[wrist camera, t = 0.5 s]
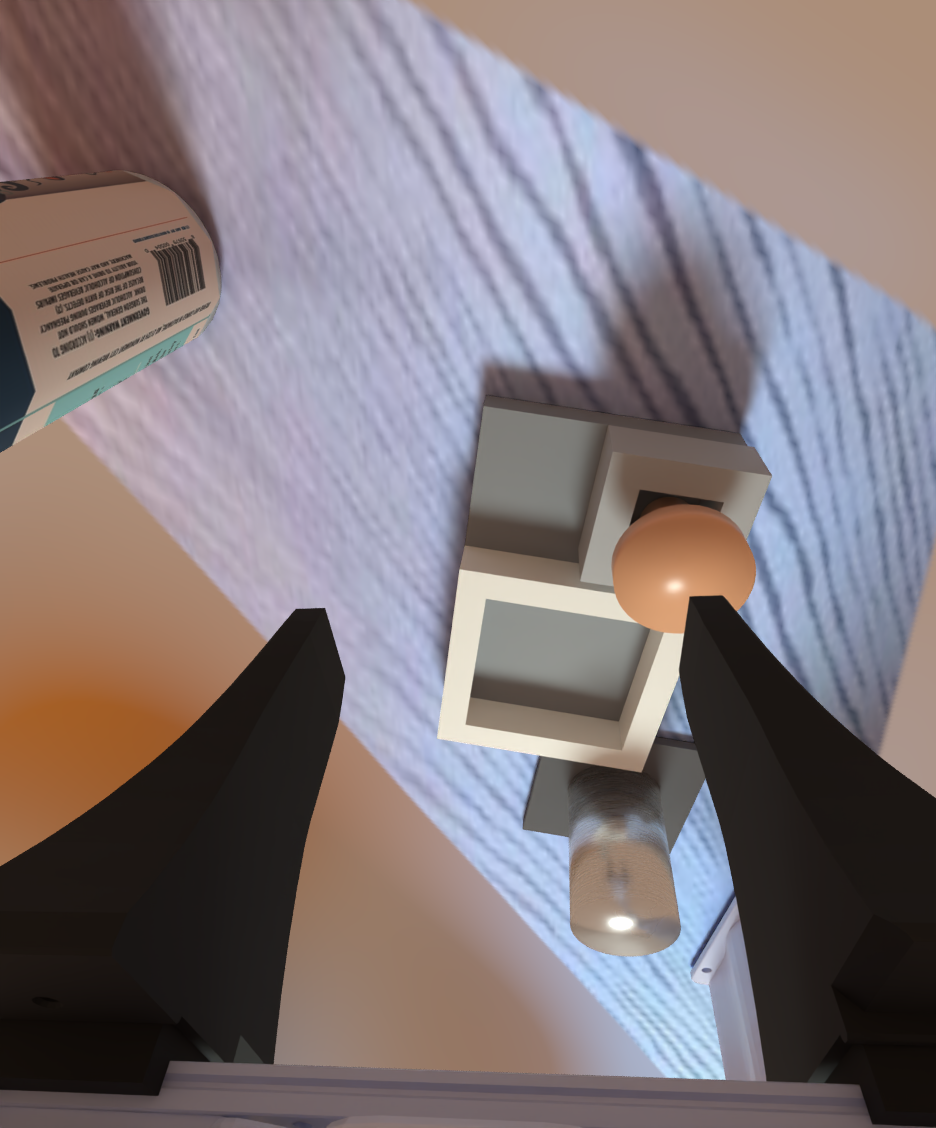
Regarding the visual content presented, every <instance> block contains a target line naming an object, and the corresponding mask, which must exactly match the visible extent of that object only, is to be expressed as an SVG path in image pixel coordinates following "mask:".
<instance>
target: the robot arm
mask: <svg viewBox="0 0 936 1128" xmlns="http://www.w3.org/2000/svg"><path fill="white" fill-rule="evenodd" d="M679 675H680V681H681V687H682V693H683V698H684V704H685V709H686V714H687V719H688V722H689V726H690V729H691V732H692V736H693V739H694V742H695V745H696V749H697V752H698V755H699V758H700V762H701V765H702V768H703V771H704V774H705V778H706V781H707V784H708V787H709V791H710V794H711V797H712V800H713V803H714V807H715V810H716V813H717V816H718V819H719V823H720V827H721V831H722V834H723V838H724V842H725V846H726V851H727V856H728V861H729V866H730V871H731V876H732V881H733V885H734V890H735V895H736V896H735V898H734V900H733V901H732V903H731V905H730V906H729V908H728V910H727V911H726V913H725V915H724V916H723V918H722V920H721V921H720V923H719V925H718V926H717V928H716V930H715V931H714V933H713V935H712V936H711V938H710V940H709V942H708V943H707V945H706V947H705V948H704V950H703V952H702V953H701V955H700V957H699V958H698V960H697V962H696V963H695V965H694V967H693V968H692V970H691V979H692V981H694V982H695V983H699V984H705V985H709V987H710V993H711V999H712V1004H713V1010H714V1016H715V1021H716V1027H717V1033H718V1038H719V1044H720V1049H721V1055H722V1061H723V1066H724V1072H725V1078H726V1080H711V1079H682V1078H653V1077H624V1076H623V1077H622V1076H595V1075H594V1076H593V1075H565V1074H537V1073H536V1074H534V1073H508V1072H479V1071H450V1070H420V1069H392V1068H364V1067H361V1068H360V1067H335V1066H333V1067H332V1066H305V1065H304V1066H303V1065H276V1064H274V1054H275V1044H276V1036H277V1027H278V1019H279V1010H280V1001H281V993H282V985H283V978H284V971H285V963H286V956H287V948H288V942H289V935H290V928H291V922H292V916H293V910H294V904H295V897H296V891H297V885H298V880H299V874H300V869H301V863H302V858H303V852H304V847H305V842H306V838H307V834H308V829H309V825H310V821H311V818H312V814H313V811H314V807H315V804H316V800H317V797H318V794H319V790H320V787H321V783H322V780H323V776H324V773H325V769H326V766H327V762H328V759H329V755H330V752H331V748H332V745H333V741H334V738H335V734H336V730H337V727H338V723H339V717H340V711H341V705H342V698H343V691H344V684H345V674H344V671H343V667H342V664H341V661H340V657H339V654H338V650H337V647H336V644H335V640H334V637H333V633H332V630H331V627H330V623H329V620H328V616H327V613H326V609H325V608H311V609H296V610H295V611H294V612H293V613H292V614H291V615H290V616H289V618H288V619H287V620H286V621H285V622H284V623H283V625H282V626H281V627H280V628H279V629H278V631H277V632H276V633H275V634H274V635H273V637H272V638H271V639H270V640H269V641H268V643H267V644H266V645H265V646H264V648H263V649H262V650H261V651H260V652H259V653H258V655H257V656H256V657H255V658H254V660H253V661H252V662H251V663H250V664H249V665H248V666H247V667H246V669H245V670H244V671H243V672H242V673H241V674H240V675H239V676H238V678H237V679H236V680H235V681H234V682H233V683H232V685H231V686H230V687H229V688H228V689H227V690H226V691H225V692H224V693H223V694H222V695H221V696H220V697H219V698H218V699H217V701H216V702H215V703H214V704H213V705H212V706H211V707H210V708H209V709H208V710H207V711H206V712H205V713H204V714H203V715H202V716H201V717H200V718H199V719H198V720H197V721H196V722H195V723H194V724H193V725H192V726H191V727H190V728H189V729H188V730H187V731H186V732H185V733H184V734H183V735H182V736H181V737H180V738H179V739H177V740H176V741H175V742H174V743H173V744H172V745H171V746H170V747H168V748H167V749H166V750H165V751H164V752H163V753H162V754H161V755H159V756H158V757H157V758H156V759H155V760H153V761H152V762H151V763H150V764H149V765H147V766H146V767H145V768H144V769H142V770H141V771H140V772H138V773H137V774H136V775H135V776H133V777H132V778H131V779H129V780H128V781H127V782H126V783H125V784H123V785H122V786H121V787H119V788H118V789H117V790H115V791H114V792H113V793H112V794H110V795H109V796H108V797H106V798H105V799H104V800H102V801H101V802H99V803H98V804H97V805H95V806H94V807H92V808H91V809H90V810H88V811H87V812H85V813H84V814H83V815H81V816H80V817H78V818H77V819H75V820H74V821H72V822H71V823H69V824H68V825H66V826H65V827H63V828H62V829H60V830H59V831H57V832H56V833H54V834H53V835H51V836H50V837H48V838H46V839H45V840H43V841H42V842H40V843H38V844H37V845H35V846H34V847H32V848H30V849H29V850H27V851H25V852H23V853H22V854H20V855H18V856H17V857H15V858H13V859H12V860H10V861H8V862H7V863H5V864H4V865H2V866H0V1128H936V798H935V797H933V796H932V795H931V794H929V793H928V792H927V791H925V790H924V789H922V788H921V787H920V786H918V785H917V784H916V783H914V782H912V781H911V780H910V779H908V778H907V777H906V776H904V775H903V774H902V773H900V772H899V771H898V770H896V769H895V768H894V767H892V766H891V765H890V764H888V763H887V762H886V761H885V760H883V759H882V758H881V757H880V756H878V755H877V754H876V753H875V752H873V751H872V750H871V749H870V748H869V747H867V746H866V745H865V744H864V743H863V742H862V741H860V740H859V739H858V738H857V737H856V736H854V735H853V734H852V733H851V732H850V731H849V730H848V729H847V728H845V727H844V726H843V725H842V724H841V723H840V722H839V721H838V720H837V719H836V718H834V717H833V716H832V715H831V714H830V713H829V712H828V711H827V710H826V709H825V708H824V707H823V706H822V705H821V704H820V703H819V702H818V701H817V700H816V699H815V698H814V697H813V696H812V695H811V694H810V693H809V692H808V691H807V690H806V689H805V688H804V687H803V686H802V685H801V684H800V683H799V682H798V681H797V680H796V679H795V678H794V677H793V676H792V675H791V674H790V673H789V671H788V670H787V669H786V668H785V667H784V666H783V665H782V664H781V663H780V662H779V661H778V660H777V659H776V657H775V656H774V655H773V654H772V653H771V652H770V651H769V650H768V648H767V647H766V646H765V645H764V644H763V643H762V641H761V640H760V639H759V638H758V637H757V636H756V634H755V633H754V632H753V631H752V630H751V628H750V627H749V626H748V625H747V624H746V622H745V621H744V620H743V619H742V618H741V616H740V615H739V614H738V613H737V611H736V610H735V609H734V608H733V606H732V605H731V604H730V603H729V601H728V600H727V599H726V598H725V597H724V596H723V595H715V596H690V597H689V604H688V610H687V617H686V624H685V631H684V637H683V644H682V651H681V658H680V664H679Z"/></svg>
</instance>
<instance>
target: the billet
mask: <svg viewBox="0 0 936 1128" xmlns="http://www.w3.org/2000/svg"><path fill="white" fill-rule="evenodd" d="M568 824H569V879H570V927H571V930H572V932H573V934H574V936H575V937H576V938H577V939H578V940H579V941H580V942H581V943H583V944H584V945H586V946H587V947H589V948H591V949H593V950H596V951H599V952H602V953H605V954H610V955H616V956H642V955H648V954H653V953H656V952H659V951H661V950H664V949H665V948H667V947H669V946H670V945H672V944H673V943H674V942H675V941H676V940H677V938H678V937H679V934H680V931H681V925H680V919H679V912H678V906H677V899H676V893H675V887H674V880H673V874H672V867H671V861H670V855H669V848H668V842H667V835H666V829H665V823H664V816H663V810H662V803H661V797H660V791H659V787H658V785H657V783H656V781H655V780H654V779H653V778H652V777H651V776H650V775H649V774H648V773H646V772H645V771H643V770H642V772H636V771H630V770H624V769H618V768H612V767H606V766H600V765H596V766H592V767H590V768H587V769H585V770H583V771H582V772H580V773H579V774H577V775H576V776H575V777H574V778H573V780H572V781H571V783H570V785H569V788H568Z"/></svg>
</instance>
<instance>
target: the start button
mask: <svg viewBox="0 0 936 1128" xmlns="http://www.w3.org/2000/svg"><path fill="white" fill-rule="evenodd" d="M611 568H612V577H613V585H614V592H615V595H616V598H617V600H618V602H619V604H620V606H621V607H622V609H623V610H624V611H625V612H626V614H627V615H628V616H629V617H631V618H632V619H633V620H634V621H636V622H637V623H639V624H641V625H643V626H645V627H647V628H649V629H652V630H655V631H660V632H664V633H677V634H682V633H684V631H685V624H686V617H687V610H688V604H689V597H690V596H715V595H723V596H724V597H725V598H726V599H727V600H728V601H729V603H730V604H731V605H732V606H733V608H734V609H735V610H736V611H738V610H739V609H740V607H741V606H742V605H743V604H744V603H745V601H746V600H747V599H748V597H749V595H750V593H751V591H752V589H753V586H754V583H755V577H756V566H755V560H754V557H753V554H752V552H751V549H750V547H749V545H748V543H747V541H746V539H745V537H744V535H743V533H742V531H741V530H740V528H739V527H738V526H737V524H736V523H735V522H733V521H732V520H731V519H730V518H729V517H727V516H726V515H724V514H723V513H721V512H719V511H717V510H714V509H711V508H708V507H704V506H700V505H690V504H688V503H687V502H685V501H684V500H682V499H680V498H676V497H662V498H659V499H656V500H654V501H652V502H651V503H649V504H648V505H647V506H646V507H645V508H644V510H643V511H642V513H641V516H640V519H638V520H637V521H635V522H634V523H633V524H632V525H631V526H629V528H628V529H627V530H626V531H625V532H624V533H623V534H622V536H621V537H620V539H619V540H618V542H617V544H616V546H615V549H614V552H613V556H612V564H611Z"/></svg>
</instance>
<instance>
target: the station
mask: <svg viewBox="0 0 936 1128" xmlns="http://www.w3.org/2000/svg"><path fill="white" fill-rule="evenodd" d="M771 478H772V475H771V473H770V472H769V470H768V468H767V467H766V465H765V464H764V462H763V460H762V459H761V457H760V456H759V454H758V452H757V451H756V449H755V447H749V446H747V444H746V443H745V441H744V439H743V438H742V436H741V434H739V433H733V432H726V431H720V430H713V429H706V428H700V427H693V426H687V425H680V424H673V423H667V422H660V421H654V420H647V419H640V418H634V417H627V416H621V415H614V414H607V413H601V412H594V411H588V410H581V409H575V408H568V407H561V406H555V405H548V404H542V403H535V402H528V401H522V400H515V399H509V398H502V397H495V396H489V395H486V399H485V402H484V406H483V414H482V421H481V429H480V436H479V444H478V451H477V458H476V466H475V473H474V481H473V488H472V495H471V503H470V510H469V518H468V525H467V533H466V540H465V547H464V551H463V556H462V560H461V565H460V570H459V577H458V585H457V592H456V600H455V607H454V615H453V623H452V630H451V638H450V645H449V653H448V660H447V668H446V675H445V683H444V690H443V698H442V705H441V713H440V720H439V728H438V735H437V739H443V740H449V741H455V742H461V743H467V744H473V745H479V746H485V747H491V748H497V749H503V750H509V751H515V752H521V753H527V754H533V755H539V756H545V757H551V758H557V759H563V760H569V761H575V762H582V763H588V764H594V765H600V766H606V767H612V768H618V769H624V770H630V771H636V772H642V770H643V767H644V765H645V762H646V759H647V757H648V754H649V752H650V749H651V747H652V744H653V742H654V739H655V736H656V734H657V731H658V729H659V726H660V724H661V721H662V718H663V716H664V713H665V711H666V708H667V706H668V703H669V700H670V698H671V695H672V693H673V690H674V688H675V685H676V682H677V680H678V677H679V664H680V658H681V651H682V644H683V637H684V633H682V634H677V633H664V632H660V631H655V630H652V629H649V628H647V627H645V626H643V625H641V624H639V623H637V622H636V621H634V620H633V619H632V618H631V617H629V616H628V615H627V614H626V612H625V611H624V610H623V609H622V607H621V606H620V604H619V602H618V600H617V598H616V595H615V592H614V585H613V577H612V568H611V564H612V556H613V552H614V549H615V546H616V544H617V542H618V540H619V539H620V537H621V536H622V534H623V533H624V532H625V531H626V530H627V529H628V528H629V526H631V525H632V524H633V523H634V522H635V521H637V520H638V519H640V516H641V513H642V511H643V510H644V508H645V507H646V506H647V505H648V504H649V503H651V502H652V501H654V500H656V499H659V498H662V497H676V498H680V499H682V500H684V501H685V502H687V503H688V504H690V505H700V506H704V507H708V508H711V509H714V510H717V511H719V512H721V513H723V514H724V515H726V516H727V517H729V518H730V519H731V520H732V521H733V522H735V523H736V524H737V526H738V527H739V528H740V530H741V531H742V533H743V535H744V537H745V539H746V540H747V537H748V535H749V532H750V530H751V527H752V525H753V522H754V520H755V517H756V515H757V512H758V510H759V507H760V505H761V502H762V500H763V498H764V495H765V493H766V490H767V488H768V485H769V483H770V480H771Z"/></svg>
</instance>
